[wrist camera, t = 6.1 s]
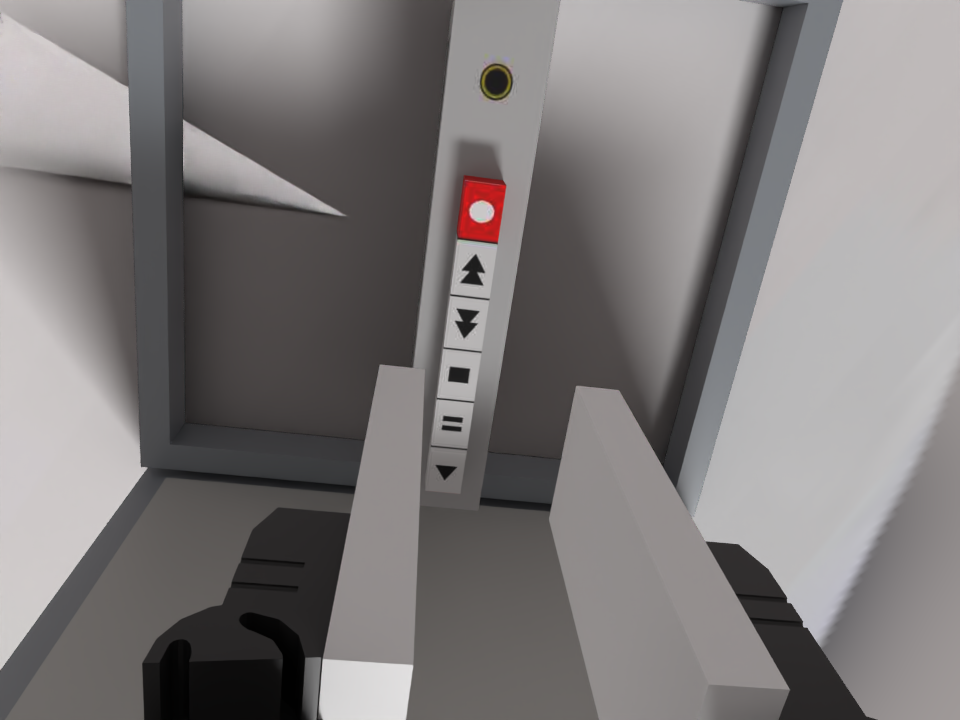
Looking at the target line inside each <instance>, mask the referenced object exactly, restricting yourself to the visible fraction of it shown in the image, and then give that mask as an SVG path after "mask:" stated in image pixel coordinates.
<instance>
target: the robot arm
mask: <svg viewBox="0 0 960 720" xmlns="http://www.w3.org/2000/svg"><path fill="white" fill-rule="evenodd" d="M424 379H425V369H418V368H408V367H399V366H390V365H380V366H379V371H378V376H377V381H376V386H375V392H374V397H373V402H372V407H371V412H370V417H369V423H368V428H367V433H366V438H365V443H364V448H363V454H362V459H361V464H360V469H359V474H358V479H357V485H356V490H355V495H354V500H353V505H352V511H351V513H339V512H327V511H316V510H304V509H293V508H281V507H278V508H277V509H276V510H274V511H273V512H272V513H271V514H270V515H269V516H267V517H266V518H265V519H264V520H263V521H262V522H260V523H259V524H258V525H257V526H256V527H255V528H253V529H252V532H251V534H250V537H249V539H248V542H247V544H246V547H245V549H244V552H243V554H242V557H241V562H240V563H239V564H238V567H237V569H236V572H235V574H234V577H233V579H232V582H231V588H229V589H228V591H227V594H226V596H225V599H224V601H223V604H222V605H219V606H212V607H209V608H207V609H204V610H202V611H199V612H197V613H194V614H192V615H190V616H187V617H185V618H182V619H180V620H179V621H178V622H177V623H175V624H174V625H173V626H172V627H170V628H169V629H168V630H167V631H165V632H164V633H163V634H162V635H160V636H159V637H158V638H157V639H156V640H155V642H154V644H153V645H152V647H151V649H150V651H149V652H148V654H147V656H146V657H145V659H144V661H143V663H142V674H143V701H144V720H406V715H407V708H408V700H409V693H410V686H411V678H412V671H413V661H414V635H415V610H416V584H417V558H418V533H419V507H420V482H421V456H422V430H423V405H424ZM549 522H550V526H551V530H552V534H553V538H554V542H555V546H556V550H557V554H558V558H559V562H560V566H561V570H562V574H563V578H564V582H565V586H566V590H567V594H568V598H569V602H570V606H571V610H572V614H573V618H574V622H575V626H576V630H577V634H578V638H579V642H580V646H581V650H582V654H583V658H584V662H585V666H586V670H587V674H588V678H589V682H590V686H591V690H592V694H593V698H594V702H595V706H596V710H597V714H598V718H599V720H876V719H873V718H869V717H866V716H865V714H864V713H863V711H862V710H861V708H860V707H859V705H858V704H857V702H856V701H855V699H854V698H853V696H852V695H851V693H850V692H849V690H848V689H847V687H846V686H845V684H844V683H843V681H842V680H841V678H840V676H839V675H838V674H837V672H836V670H835V669H834V667H833V666H832V665H831V663H830V661H829V660H828V658H827V657H826V655H825V654H824V652H823V651H822V649H821V648H820V646H819V645H818V643H817V642H816V640H815V639H814V637H813V636H812V634H811V633H810V631H809V630H808V628H804V627H803V621H802V619H801V618H800V616H799V615H798V613H797V612H796V610H795V609H794V607H793V606H792V604H791V603H787V597H786V595H785V594H784V592H783V591H782V589H781V588H780V586H779V585H778V583H777V582H776V580H775V579H774V577H773V576H772V574H771V573H770V571H769V570H768V569H767V568H766V567H765V566H764V565H762V564H761V563H760V562H759V561H758V560H756V559H755V558H754V557H753V556H752V555H750V554H749V553H748V552H747V551H746V550H744V549H743V548H742V547H741V546H740V545H738V544H729V543H717V542H705V540H704V538H703V537H702V535H701V533H700V531H699V530H698V528H697V526H696V524H695V523H694V521H693V519H692V517H691V516H690V514H689V512H688V510H687V509H686V507H685V505H684V503H683V502H682V500H681V498H680V496H679V495H678V493H677V491H676V489H675V488H674V486H673V484H672V482H671V481H670V479H669V477H668V475H667V474H666V472H665V470H664V468H663V467H662V465H661V463H660V461H659V459H658V458H657V456H656V454H655V452H654V451H653V449H652V447H651V445H650V444H649V442H648V440H647V438H646V437H645V435H644V433H643V431H642V430H641V428H640V426H639V424H638V423H637V421H636V419H635V417H634V416H633V414H632V412H631V410H630V409H629V407H628V405H627V403H626V402H625V400H624V398H623V396H622V395H621V393H620V391H619V390H613V389H604V388H594V387H585V386H576V389H575V394H574V399H573V404H572V409H571V414H570V418H569V423H568V428H567V433H566V438H565V443H564V448H563V453H562V458H561V463H560V467H559V472H558V477H557V482H556V487H555V492H554V497H553V502H552V507H551V512H550V516H549Z"/></svg>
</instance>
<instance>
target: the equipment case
mask: <svg viewBox="0 0 960 720" xmlns="http://www.w3.org/2000/svg"><path fill="white" fill-rule="evenodd" d="M741 1H747V2H753V3H759V4H765V5H771V6H777V7H783V11H782V15H781V19H780V23H779V26H778V30H777V34H776V38H775V42H774V46H773V49H772V53H771V57H770V61H769V65H768V68H767V72H766V76H765V80H764V84H763V87H762V91H761V95H760V99H759V103H758V106H757V110H756V114H755V118H754V122H753V125H752V129H751V133H750V137H749V141H748V144H747V148H746V152H745V156H744V160H743V163H742V167H741V171H740V175H739V179H738V183H737V186H736V190H735V194H734V198H733V202H732V205H731V209H730V213H729V217H728V221H727V224H726V228H725V232H724V236H723V240H722V243H721V247H720V251H719V255H718V259H717V262H716V266H715V270H714V274H713V278H712V281H711V285H710V289H709V293H708V297H707V300H706V304H705V308H704V312H703V316H702V320H701V323H700V327H699V331H698V335H697V339H696V342H695V346H694V350H693V354H692V358H691V361H690V365H689V369H688V373H687V377H686V380H685V384H684V388H683V392H682V396H681V399H680V403H679V407H678V411H677V415H676V418H675V422H674V426H673V430H672V434H671V437H670V441H669V445H668V449H667V453H666V457H665V460H664V464H663V468H664V470H665V472H666V474H667V475H668V477H669V479H670V481H671V482H672V484H673V486H674V488H675V489H676V491H677V493H678V495H679V496H680V498H681V500H682V502H683V503H684V505H685V507H686V509H687V510H688V512H689V514H690V516H691V517H694V515H695V512H696V508H697V505H698V501H699V498H700V494H701V491H702V487H703V484H704V480H705V477H706V474H707V470H708V467H709V463H710V460H711V456H712V453H713V449H714V446H715V442H716V439H717V435H718V432H719V428H720V425H721V422H722V418H723V415H724V411H725V408H726V404H727V401H728V397H729V394H730V390H731V387H732V383H733V380H734V377H735V373H736V370H737V366H738V363H739V359H740V356H741V352H742V349H743V345H744V342H745V338H746V335H747V331H748V328H749V325H750V321H751V318H752V314H753V311H754V307H755V304H756V300H757V297H758V293H759V290H760V286H761V283H762V279H763V276H764V273H765V269H766V266H767V262H768V259H769V255H770V252H771V248H772V245H773V241H774V238H775V234H776V231H777V228H778V224H779V221H780V217H781V214H782V210H783V207H784V203H785V200H786V196H787V193H788V189H789V186H790V182H791V179H792V176H793V172H794V169H795V165H796V162H797V158H798V155H799V151H800V148H801V144H802V141H803V137H804V134H805V130H806V127H807V124H808V120H809V117H810V113H811V110H812V106H813V103H814V99H815V96H816V92H817V89H818V85H819V82H820V79H821V75H822V72H823V68H824V65H825V61H826V58H827V54H828V51H829V47H830V44H831V40H832V37H833V33H834V30H835V27H836V23H837V20H838V16H839V13H840V9H841V6H842V2H843V0H741ZM126 25H127V55H128V86H129V117H130V147H131V178H132V209H133V239H134V270H135V301H136V332H137V362H138V393H139V424H140V454H141V467H148V468H147V470H146V471H145V472H144V474H143V475H142V477H141V478H140V479H139V481H138V482H137V483H136V485H135V486H134V488H133V489H132V490H131V492H130V493H129V494H128V496H127V497H126V499H125V500H124V501H123V503H122V504H121V505H120V507H119V508H118V510H117V511H116V512H115V514H114V515H113V516H112V518H111V519H110V521H109V522H108V523H107V525H106V526H105V527H104V529H103V530H102V532H101V533H100V534H99V536H98V537H97V538H96V540H95V541H94V543H93V544H92V545H91V547H90V548H89V549H88V551H87V552H86V554H85V555H84V556H83V558H82V559H81V560H80V562H79V563H78V565H77V566H76V567H75V569H74V570H73V571H72V573H71V574H70V576H69V577H68V578H67V580H66V581H65V582H64V584H63V585H62V587H61V588H60V589H59V591H58V592H57V593H56V595H55V596H54V598H53V599H52V600H51V602H50V603H49V604H48V606H47V607H46V609H45V610H44V611H43V613H42V614H41V615H40V617H39V618H38V620H37V621H36V622H35V624H34V625H33V626H32V628H31V629H30V631H29V632H28V633H27V635H26V636H25V637H24V639H23V640H22V641H21V643H20V644H19V646H18V647H17V648H16V650H15V651H14V652H13V654H12V655H11V657H10V658H9V659H8V661H7V662H6V663H5V665H4V666H3V668H2V669H1V670H0V720H144V701H143V674H142V663H143V661H144V659H145V657H146V656H147V654H148V652H149V651H150V649H151V647H152V645H153V644H154V642H155V640H156V639H157V638H158V637H159V636H160V635H162V634H163V633H164V632H165V631H167V630H168V629H169V628H170V627H172V626H173V625H174V624H175V623H177V622H178V621H179V620H180V619H182V618H185V617H187V616H190V615H192V614H194V613H197V612H199V611H202V610H204V609H207V608H209V607H212V606H219V605H222V604H223V601H224V599H225V596H226V594H227V591H228V589H229V588H231V582H232V579H233V577H234V574H235V572H236V569H237V567H238V564H239V563H240V562H241V557H242V554H243V552H244V549H245V547H246V544H247V542H248V539H249V537H250V534H251V532H252V529H253V528H255V527H256V526H257V525H258V524H259V523H260V522H262V521H263V520H264V519H265V518H266V517H267V516H269V515H270V514H271V513H272V512H273V511H274V510H276V509H277V508H278V507H281V508H293V509H304V510H316V511H327V512H339V513H351V511H352V505H353V500H354V495H355V490H356V485H357V479H358V474H359V469H360V464H361V459H362V454H363V448H364V443H365V440H355V439H345V438H335V437H324V436H314V435H304V434H293V433H283V432H273V431H262V430H252V429H242V428H232V427H221V426H211V425H201V424H190V423H185V339H184V203H183V68H182V0H126ZM560 463H561V459H551V458H541V457H530V456H520V455H510V454H500V453H489V452H488V453H487V460H486V466H485V472H484V478H483V484H482V491H481V497H480V503H479V509H478V511H475V510H464V509H452V508H441V507H430V506H420V507H419V533H418V558H417V584H416V610H415V635H414V661H413V671H412V678H411V686H410V693H409V700H408V708H407V715H406V720H599V718H598V714H597V710H596V706H595V702H594V698H593V694H592V690H591V686H590V682H589V678H588V674H587V670H586V666H585V662H584V658H583V654H582V650H581V646H580V642H579V638H578V634H577V630H576V626H575V622H574V618H573V614H572V610H571V606H570V602H569V598H568V594H567V590H566V586H565V582H564V578H563V574H562V570H561V566H560V562H559V558H558V554H557V550H556V546H555V542H554V538H553V534H552V530H551V526H550V522H549V516H550V512H551V507H552V502H553V497H554V492H555V487H556V482H557V477H558V472H559V467H560Z"/></svg>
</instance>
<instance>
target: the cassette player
mask: <svg viewBox="0 0 960 720" xmlns="http://www.w3.org/2000/svg"><path fill="white" fill-rule="evenodd" d="M559 6H560V0H453V4H452V8H451V16H450V25H449V34H448V43H447V52H446V61H445V70H444V79H443V87H442V96H441V105H440V114H439V123H438V132H437V141H436V150H435V159H434V167H433V176H432V185H431V194H430V203H429V212H428V221H427V230H426V238H425V247H424V256H423V265H422V274H421V283H420V292H419V301H418V310H417V318H416V327H415V336H414V345H413V354H412V363H411V368H418V369H425V379H424V405H423V430H422V456H421V482H420V506H430V507H441V508H452V509H464V510H475V511H478V509H479V503H480V497H481V491H482V484H483V478H484V472H485V466H486V460H487V453H488V447H489V441H490V435H491V429H492V422H493V416H494V410H495V404H496V398H497V391H498V385H499V379H500V373H501V367H502V360H503V354H504V348H505V342H506V335H507V329H508V323H509V317H510V311H511V304H512V298H513V292H514V286H515V280H516V273H517V267H518V261H519V255H520V249H521V242H522V236H523V230H524V224H525V218H526V211H527V205H528V199H529V193H530V186H531V180H532V174H533V168H534V162H535V155H536V149H537V143H538V137H539V131H540V124H541V118H542V112H543V106H544V100H545V93H546V87H547V81H548V75H549V69H550V62H551V56H552V50H553V44H554V37H555V31H556V25H557V19H558V13H559Z"/></svg>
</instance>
